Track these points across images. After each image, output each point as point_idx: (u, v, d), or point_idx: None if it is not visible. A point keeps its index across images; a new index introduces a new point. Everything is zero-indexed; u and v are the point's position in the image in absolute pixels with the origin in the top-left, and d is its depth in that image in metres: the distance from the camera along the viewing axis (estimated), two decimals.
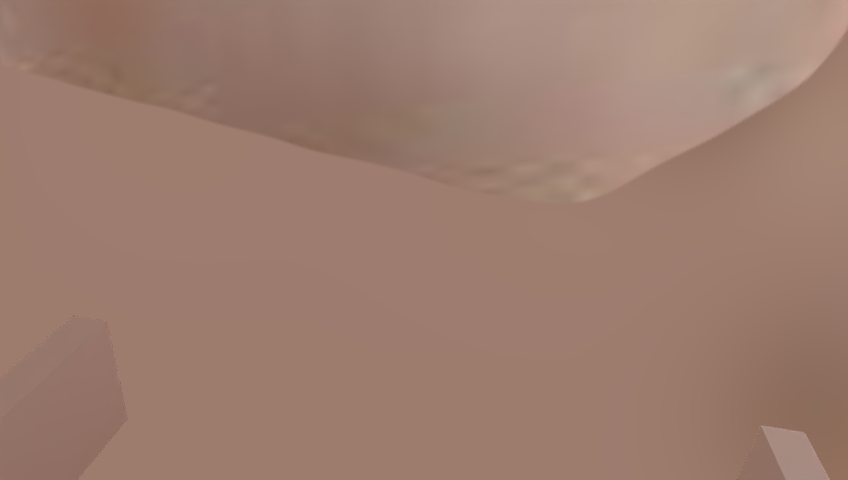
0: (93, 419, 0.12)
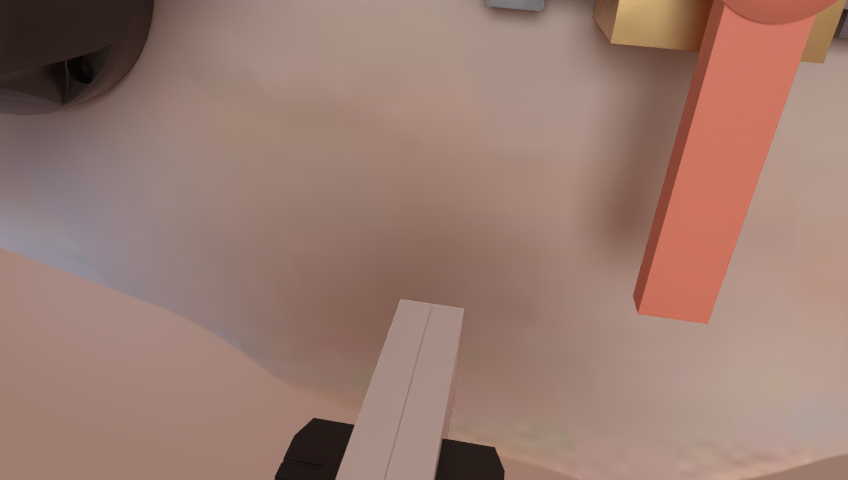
0: None
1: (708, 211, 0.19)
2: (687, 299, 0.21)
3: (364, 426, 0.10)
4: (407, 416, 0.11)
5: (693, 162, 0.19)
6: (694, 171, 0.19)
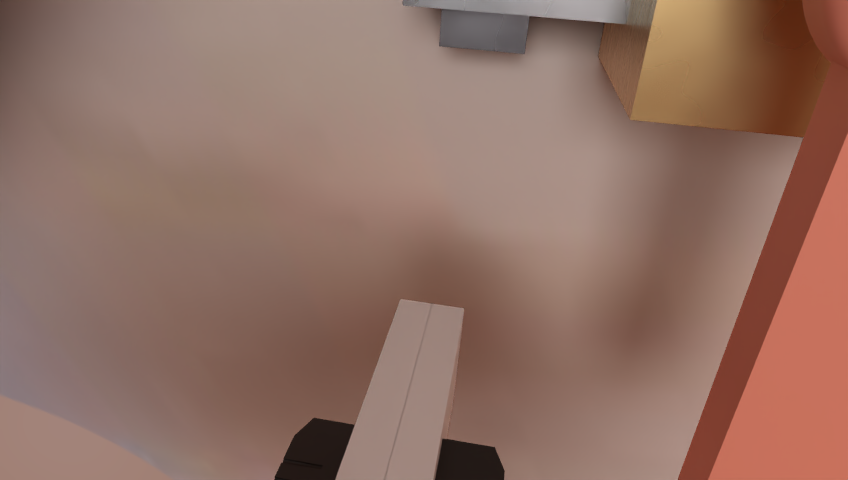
0: None
1: (806, 424, 0.11)
2: None
3: (364, 426, 0.10)
4: (407, 416, 0.11)
5: (784, 349, 0.10)
6: (786, 364, 0.11)
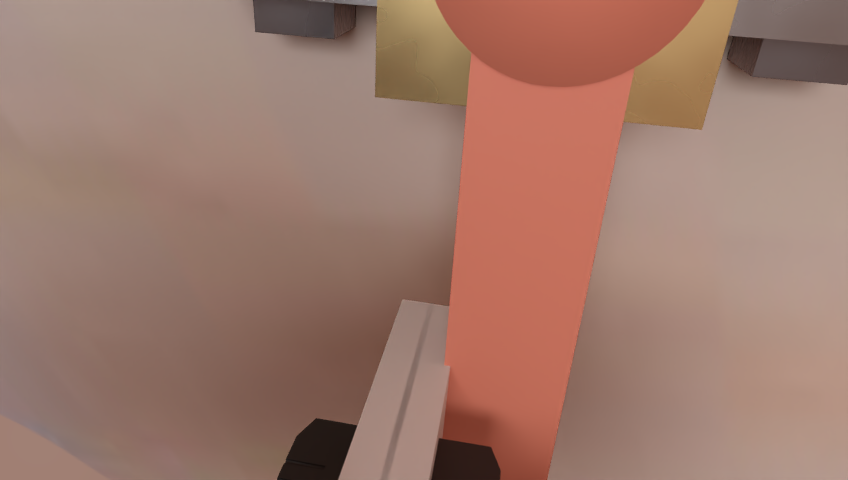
0: None
1: (506, 379, 0.12)
2: None
3: (366, 426, 0.10)
4: (403, 416, 0.11)
5: (469, 307, 0.11)
6: (474, 321, 0.11)
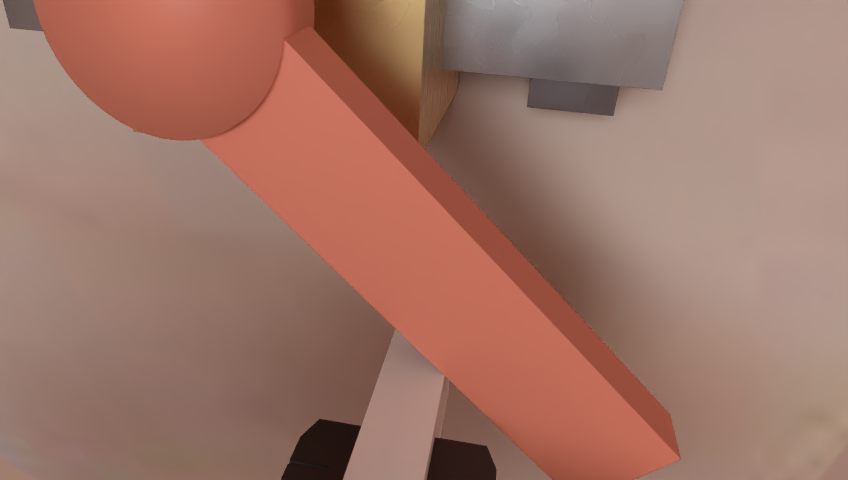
0: None
1: (491, 341, 0.11)
2: (613, 450, 0.12)
3: (370, 427, 0.10)
4: (399, 415, 0.11)
5: (399, 309, 0.11)
6: (415, 316, 0.11)
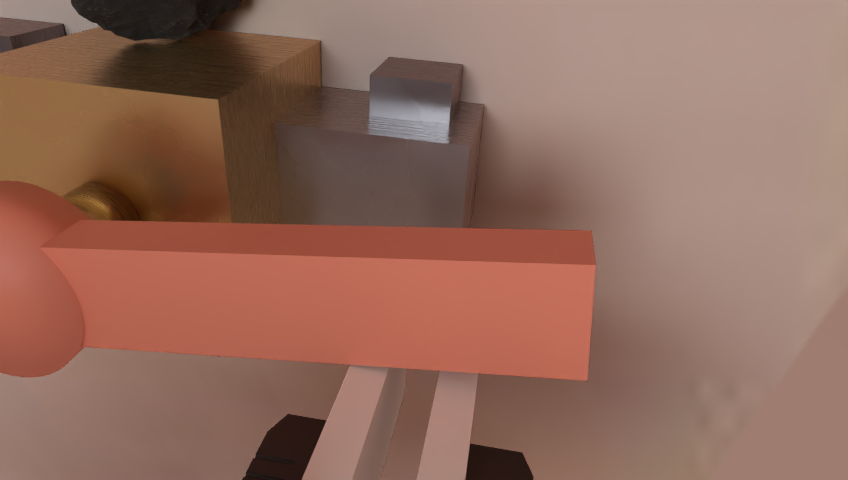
0: (398, 389, 0.14)
1: (352, 311, 0.11)
2: (540, 309, 0.10)
3: (335, 422, 0.10)
4: (435, 421, 0.11)
5: (281, 344, 0.12)
6: (294, 340, 0.12)
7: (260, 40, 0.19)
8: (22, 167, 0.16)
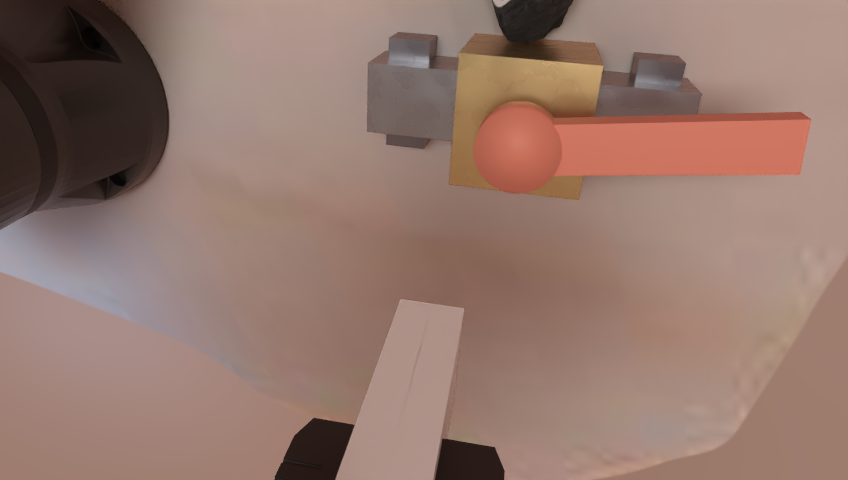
0: None
1: (698, 147, 0.26)
2: (784, 141, 0.26)
3: (364, 426, 0.10)
4: (407, 416, 0.11)
5: (658, 167, 0.27)
6: (665, 164, 0.27)
7: (565, 43, 0.35)
8: (482, 103, 0.31)
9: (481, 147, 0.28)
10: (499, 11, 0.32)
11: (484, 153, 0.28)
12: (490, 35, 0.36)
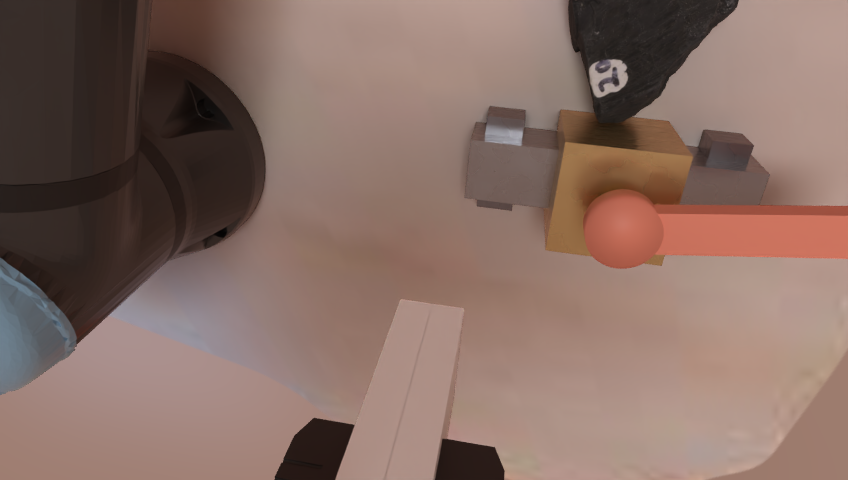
0: None
1: (782, 235, 0.31)
2: None
3: (364, 426, 0.10)
4: (407, 416, 0.11)
5: (746, 250, 0.32)
6: (752, 248, 0.32)
7: (643, 121, 0.39)
8: (582, 184, 0.35)
9: (592, 230, 0.32)
10: (598, 100, 0.36)
11: (594, 235, 0.32)
12: (575, 112, 0.40)
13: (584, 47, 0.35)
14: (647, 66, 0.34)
